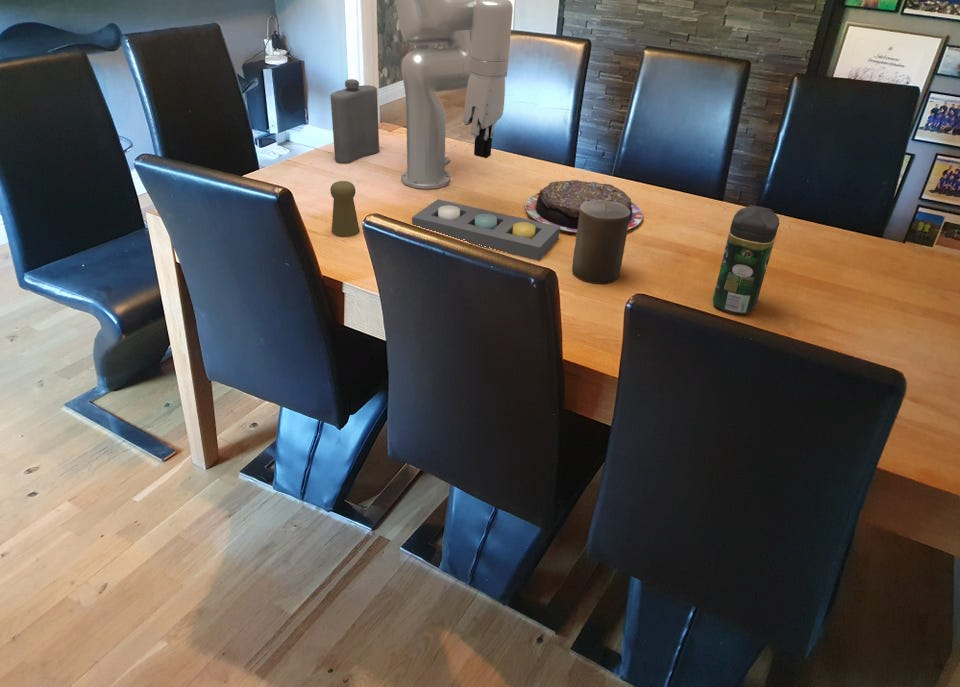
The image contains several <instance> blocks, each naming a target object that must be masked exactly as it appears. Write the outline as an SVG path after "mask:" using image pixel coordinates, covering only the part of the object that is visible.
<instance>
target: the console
mask: <svg viewBox="0 0 960 687" xmlns="http://www.w3.org/2000/svg"><path fill="white" fill-rule="evenodd" d="M446 205H451V206H456V207H458V208H459V209H460V217H459V218H458V219H457V220H456V221H453V220H449V219H445V218H440V217H438V209H439V207H441V206H446ZM478 214H492V215H494V216H496V217H497V226H496V227H495V228H494V229H493V230H492V229H487V228H483V227H479V226H475V216H476V215H478ZM519 222H527V223H531V224H533V225H534V226H535V227H536V228H535V236H534V237H533V238H532V239H530V238H526V237H521V236H517V235H513V234H512V233H513V225H514V224H515V223H519ZM412 224H413V225H416V226H420V227H422V228H425V229H429V230H432V231H436V232H439V233H442V234H445V235H448V236H451V237H454V238H457V239H460V240H463V239H465V240H463V241H467V242H469V243H472V244H475V245H474V246H476V245H478V247H480V246H481V245H482V248H484V246H486V247H485V249H490V248H492V249H490V250H493V251H497V250H499V251H498V252H501V251H503V252H502V253H505V252H507V253H506V254H509V253H510V255H513V256H518V257H521V258H527V259H530V260H533V261H540V260H541V259H542V258H543V257H544V256H545V254H547V252H548V251H549V250H550V249H551V248H552V247H553V246H554V245H555V244H556V243H557V242H558V241H559V238H560V232H561V231H560V227H559V226H555V225H551V224H546V223H542V222H537V221H535V220H534V219H532V220H531V219H527V218H522V217H520V216H519V217H518V216H514V215H511V214H510V215H509V214H506V213H500V212H496V211H494V210H487V209H483V208H480V207H475V206H470V205H467V204H461V203H457V202H454V201H453V202H452V201H448V200H443V199H439V198H437V199H436V200H435V201H434V202H431V204H429V205H428V206H426V207H424V208H423V209H421V210H420V211H418V212H417V213H416V214H415V215H413V216H412V217H411V225H412ZM472 244H471V245H472ZM479 244H480V245H479ZM489 247H490V248H489ZM494 249H496V250H494Z"/></svg>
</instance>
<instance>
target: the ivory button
mask: <svg viewBox="0 0 960 687" xmlns="http://www.w3.org/2000/svg"><path fill="white" fill-rule="evenodd" d="M438 217H440V218H445V219H449V220H453V221H456V220H457V219H458V218H459V217H460V209H459V208H458V207H456V206H451V205H446V206H441V207H439V209H438Z"/></svg>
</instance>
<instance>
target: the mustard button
mask: <svg viewBox="0 0 960 687" xmlns="http://www.w3.org/2000/svg"><path fill="white" fill-rule="evenodd" d="M535 228H536V227H535V226H534V225H533V224H531V223H527V222H519V223H515V224H514V225H513V233H512V234H513V235H517V236H521V237H526V238H530V239H532V238H533V237H534V236H535Z"/></svg>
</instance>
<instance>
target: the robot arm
mask: <svg viewBox="0 0 960 687" xmlns="http://www.w3.org/2000/svg"><path fill="white" fill-rule="evenodd" d="M394 3H395V9H396V14H397V15H396V16H397V20H398V24H399V29H400V33H401V36H402V38H403V40H404V41H405V42H406V43H407V44H409V45H415V46H418V45H419V46H424V45H425V46H426V45H427V46H428V45H445V47H442V48H441V47H440V48H438V47H437V48H435V47H434V48H433V47H432V48H421V49H415V50H412V51H410V52H408V53H406V54H405V56H404V57H403V59H402V61H401V75H402V79H403V86H404V95H405V105H406V106H405V110H406V111H405V112H406V113H405V114H406V159H407V160H406V161H407V163H406V165H407V168H406V169H407V170H405V171H404V172H403V173H401V182H402V183H403V184H404V185H406V186H409V187H411V188H414V189H415V188H416V189H420V190H421V189H422V190H424V189H425V190H430V189H432V190H433V189H439V188H444V187H446V186H447V185H449V184H450V183H451V181H452V180H451V178H452V177H451V174H450V173H449V172H447V171H446V166H447V165H449V164H450V163H451V158H450V157H449V156H446V121H447V120H446V119H447V118H446V109H445V107H444V104H443V102H441V100H440V99H439V98H438V95H437V93H441V92H447V91H460V90H466V92H465V99H464V100H465V102H464V111H463V124H464V125H466V126H468V125H471V128H470V135H473V138H474V147H473V148H474V149H473V150H474V151H473V156H476V157H480V158H482V159H488V158H489V157H491V154H492V144H493V143H492V142H493V136H494V130H495V125H496V123H497V122H498V121H499V120H500V119H502V117H503V114H504V107H505V98H506V97H505V95H506V94H505V93H506V78H507V76H508V71H509V70H508V69H509V68H508V67H509V57H510V48H511V47H510V46H511V34H512V22H513V12H514V11H513V10H514V8H513V3H512V2H511V0H394ZM470 31H471V35H470Z"/></svg>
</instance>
